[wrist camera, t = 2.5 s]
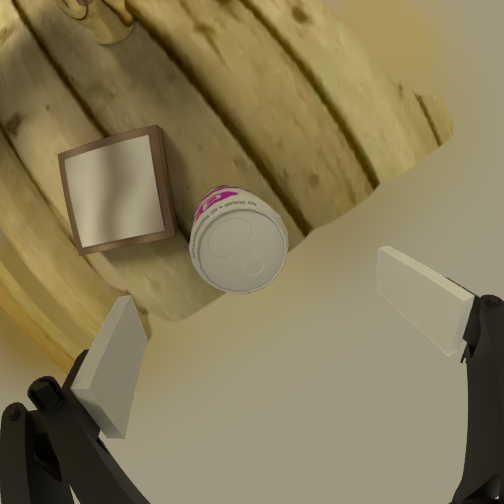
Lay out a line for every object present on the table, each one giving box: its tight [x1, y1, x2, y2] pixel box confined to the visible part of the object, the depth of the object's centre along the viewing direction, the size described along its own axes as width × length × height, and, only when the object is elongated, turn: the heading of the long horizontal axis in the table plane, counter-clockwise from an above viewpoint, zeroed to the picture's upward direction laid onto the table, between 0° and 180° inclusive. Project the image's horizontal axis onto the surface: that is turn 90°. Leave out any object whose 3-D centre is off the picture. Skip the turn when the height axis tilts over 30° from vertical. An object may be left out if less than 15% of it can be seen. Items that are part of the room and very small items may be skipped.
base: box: [58, 125, 179, 256], centre depth 30 cm, size 13×13×4 cm
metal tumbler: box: [53, 0, 135, 45], centre depth 17 cm, size 7×7×15 cm
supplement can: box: [189, 185, 289, 294], centre depth 28 cm, size 8×8×15 cm
